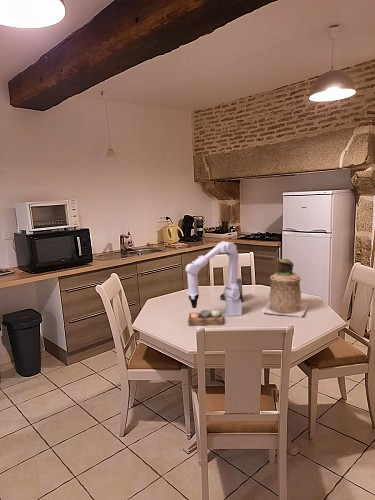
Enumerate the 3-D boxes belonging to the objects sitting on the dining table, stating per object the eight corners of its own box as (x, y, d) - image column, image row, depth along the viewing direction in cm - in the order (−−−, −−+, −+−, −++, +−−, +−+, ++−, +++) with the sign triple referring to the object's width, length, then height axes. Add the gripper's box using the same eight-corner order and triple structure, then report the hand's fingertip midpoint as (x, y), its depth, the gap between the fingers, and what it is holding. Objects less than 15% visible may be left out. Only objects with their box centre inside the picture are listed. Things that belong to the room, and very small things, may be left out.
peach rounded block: (199, 318, 204) (198, 312, 203) (198, 321, 199) (198, 315, 199) (191, 318, 204) (191, 312, 204) (190, 321, 200) (190, 315, 199)
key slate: (209, 315, 203) (209, 309, 203) (209, 318, 199) (209, 312, 198) (201, 316, 203) (201, 310, 203) (201, 318, 199) (200, 312, 198)
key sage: (219, 315, 203) (219, 309, 202) (220, 318, 198) (219, 312, 198) (211, 315, 203) (211, 309, 202) (211, 318, 198) (211, 312, 198)
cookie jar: (303, 318, 197) (303, 262, 192) (260, 314, 208) (258, 261, 203) (308, 304, 219) (308, 254, 214) (269, 302, 230) (268, 253, 225)
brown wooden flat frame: (221, 317, 207) (221, 312, 206) (222, 324, 195) (222, 319, 194) (189, 318, 208) (189, 313, 208) (188, 326, 196) (188, 320, 196)
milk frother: (243, 303, 229) (242, 281, 227) (219, 303, 232) (217, 282, 230) (243, 297, 243) (242, 276, 241) (220, 297, 246) (219, 276, 243)
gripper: (186, 281, 206) (188, 304, 208) (184, 288, 192) (186, 312, 194) (198, 281, 205) (200, 303, 207) (197, 287, 191) (199, 311, 193)
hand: (194, 307), depth 201 cm, fingers closed
